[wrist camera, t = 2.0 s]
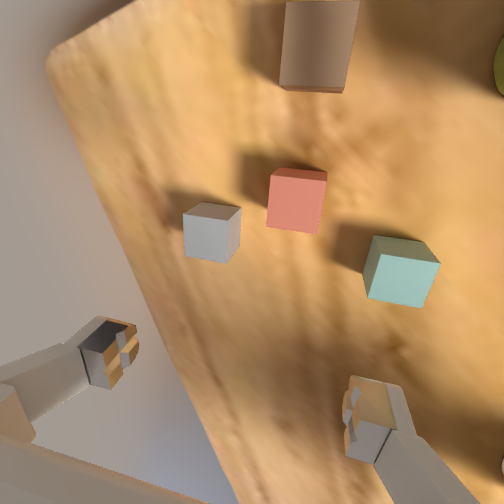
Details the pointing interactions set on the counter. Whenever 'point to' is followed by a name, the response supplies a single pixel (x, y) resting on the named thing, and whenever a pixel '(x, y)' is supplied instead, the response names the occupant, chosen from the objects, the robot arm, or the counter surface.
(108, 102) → the counter surface
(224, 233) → the slate grey block
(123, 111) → the counter surface
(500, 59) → the plant pot
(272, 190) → the brick-red block
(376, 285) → the muted teal block
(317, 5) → the walnut block
